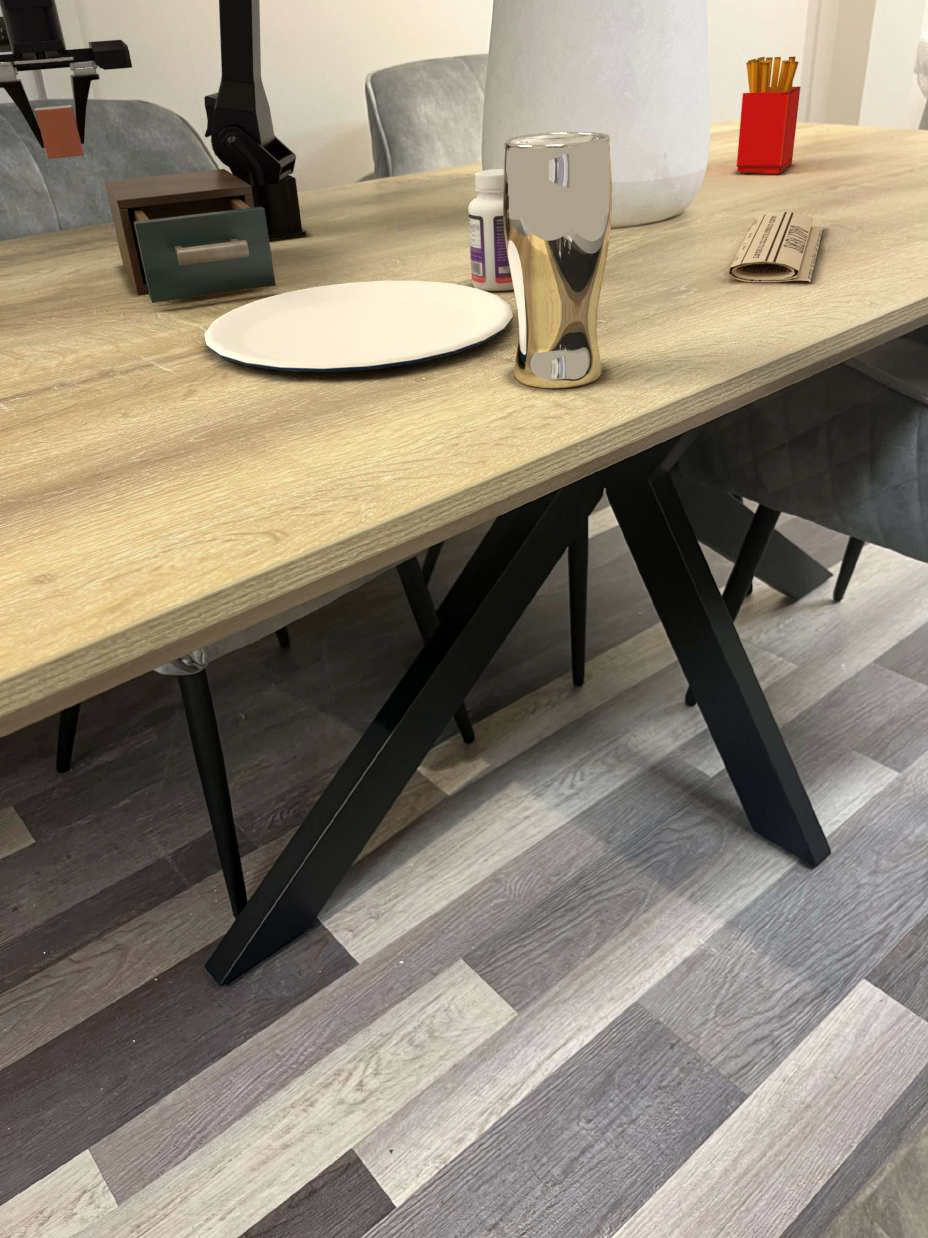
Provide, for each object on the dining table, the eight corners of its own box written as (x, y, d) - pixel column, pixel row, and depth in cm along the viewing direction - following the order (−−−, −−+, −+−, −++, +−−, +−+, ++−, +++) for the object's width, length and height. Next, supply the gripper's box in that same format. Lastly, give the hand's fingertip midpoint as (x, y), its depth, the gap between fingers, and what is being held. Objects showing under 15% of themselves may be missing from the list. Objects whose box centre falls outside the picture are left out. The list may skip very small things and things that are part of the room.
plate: (181, 320, 87) (178, 306, 86) (444, 279, 95) (443, 266, 94) (243, 405, 67) (240, 387, 67) (568, 344, 75) (568, 328, 74)
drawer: (286, 295, 89) (274, 214, 86) (157, 313, 86) (140, 231, 83) (247, 259, 104) (236, 189, 100) (136, 273, 100) (120, 202, 97)
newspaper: (754, 228, 108) (755, 211, 107) (822, 229, 105) (825, 211, 104) (727, 280, 89) (729, 260, 88) (810, 283, 87) (813, 261, 86)
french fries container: (731, 174, 140) (741, 60, 132) (745, 164, 147) (754, 56, 139) (782, 174, 137) (795, 58, 130) (794, 164, 144) (806, 54, 137)
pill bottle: (536, 278, 93) (535, 166, 88) (520, 293, 89) (518, 175, 84) (482, 277, 95) (477, 166, 90) (463, 291, 91) (458, 176, 86)
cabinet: (265, 276, 100) (251, 185, 96) (137, 294, 96) (116, 200, 92) (238, 251, 112) (224, 168, 107) (123, 266, 108) (104, 181, 104)
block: (82, 151, 118) (70, 104, 115) (84, 155, 114) (72, 106, 112) (46, 155, 117) (34, 107, 114) (47, 158, 113) (35, 109, 111)
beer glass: (502, 363, 72) (494, 135, 64) (597, 355, 72) (601, 128, 65) (514, 394, 66) (508, 148, 58) (617, 386, 66) (624, 140, 59)
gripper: (107, -16, 116) (138, 132, 124) (-65, -6, 111) (-21, 147, 119) (114, -21, 107) (147, 139, 115) (-73, -10, 102) (-24, 156, 110)
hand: (63, 145), depth 115 cm, fingers closed on block, 4 cm apart
